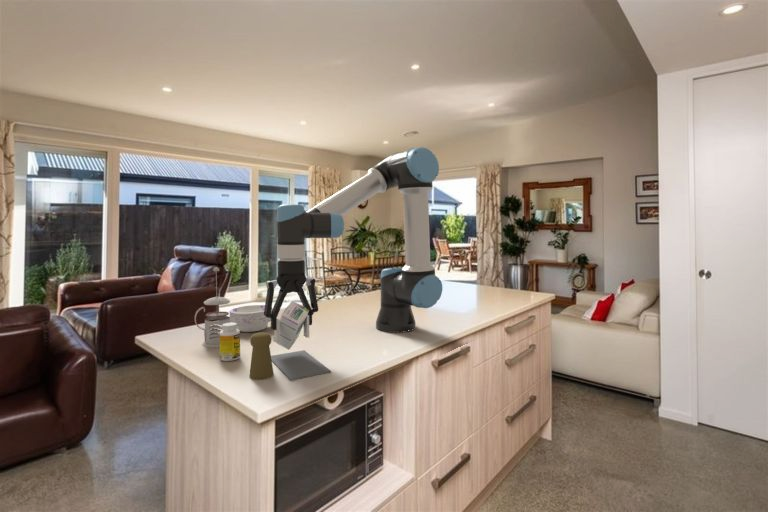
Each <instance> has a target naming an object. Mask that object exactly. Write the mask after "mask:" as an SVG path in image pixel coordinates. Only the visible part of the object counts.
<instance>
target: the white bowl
mask: <svg viewBox="0 0 768 512" xmlns="http://www.w3.org/2000/svg"><path fill="white" fill-rule="evenodd" d="M264 309H265V304H251V305H249V304H248V305H242V306H237V307H233V308H231V309H230V310H229V312H228V313H229V314H228V315H229V317H230V323H231V322H232V323H237V329H238V330H239V331H240V333H242V332H243V333H254V332H255V333H256V332H260V331H263V330H265V329H266V328H267V327H268V324H269V323H271V318H268V317H266V316H265V315H264ZM272 309H273V308H272ZM272 309H271V312H272Z"/></svg>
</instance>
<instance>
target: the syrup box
mask: <svg viewBox="0 0 768 512" xmlns="http://www.w3.org/2000/svg"><path fill="white" fill-rule="evenodd" d="M308 312H309V310H308V309H307V308H305V307H303V304H299V303H297V302H296V301H294V300H292V301H291V302H290V303H289V304H288V306H287V307H286V308H285V309H284V311H283V312H282V313H281V315H280V318H279V319H280V342H276V341H275V335H274V336H273V339H272V342H274V343H276V344H277V345H279V346H281V347H283V348H285V349H286V350H290V349H291V348H292V347H293V345H294V344H295V342H296V340H298V338H299V336H300V333H301V332H302V329H303V328H304V322H305V319H306V317H307V314H308Z"/></svg>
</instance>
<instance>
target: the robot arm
mask: <svg viewBox="0 0 768 512" xmlns="http://www.w3.org/2000/svg"><path fill="white" fill-rule="evenodd" d="M439 170H440V166H439V161H438V158H437V157H436V155H435V154H434V153H433V152H432V150H431V149H430V148H427V147H422V146H421V147H412V148H410V149H407V150H406V149H405V150H403V151H398V152H395V153H392V154H390V155H389V156H387V157H386V158H384V159H382V160H381V161H380V162H378V163H377V164H376V165H374V166H373V167H371V168H369V169H368V170H367V172H366V174H364V175H363V176H362V177H360V178H358V179H356V180H355V181H353V182H352V183H350V184H349V185H347V186H345V187H343V188H342V189H340V190H339V191H337V192H336V193H334V194H333V195H331V196H329V197H328V198H326V199H324V200H323V201H321V202H320V203H318V204H316V205H315V206H313V207H312V208H310V209H307V211H306V210H305V207H304V205H303V204H289V203H288V204H279V206H277V209H276V219H275V220H276V235H277V236H276V238H277V239H276V241H277V243H276V244H277V248H276V249H277V253H276V255H277V259H278V261H277V276H276V279H273V280H267V281H266V283H265V284H266V289H267V290H266V297H265V304H264V305H265V309H264V315H265V316H266V317H268V318H271V321H270V328H271V330H272V331H273V332H274V336H275V341H276V342H280V318H279V317H278V315H279V313H280V310H281V308H282V306H283V303H284V300H285V299H286V297H287V294H290V293H297V295H298V298H299V300H300V302H301V305H302V306H303V307H305V308H307V309H308V310H309V312H308V314H307V317H306V319H305V322H304V324H303V336H304V337H305V338H306V339H307V338H310V326H312V325H313V315H314V314H315V313H317V312H318V311H319V304H318V299H317V293H316V287H315V286H316V279H315V278H313V277H309V278H308V277H306V274H305V272H306V269H305V267H306V263H305V260H304V259H305V258H306V257H305V256H306V255H305V254H306V253H305V252H306V251H305V239H338V238H340V237H341V236H343V233H344V230H345V222H344V217H343V216H345V215H346V214H348V212H350V211H352V210H354V209H355V208H357V207H358V206H360V205H361V204H363V203H365V202H366V201H367V200H369V199H371V198H372V197H374V196H375V195H377V194H378V193H380V194H383V193H385V192H387V191H388V190H390V189H392V188H396V187H397V188H398V189H397V190H398V191H399V193H401V194H402V198H403V199H402V202H403V204H402V205H403V230H404V250H405V251H404V252H405V253H404V255H405V264H404V266H403V267H392V268H391V267H390V268H383V269H382V270H381V272H380V278H379V279H380V308H379V312H378V314H377V318H376V321H375V328H376V329H377V330H379V331H382V332H386V333H387V332H388V333H404V332H403V331H407V332H409V331H408V330H411V331H413V330H412V329H414V328H415V329H416V318H415V316H414V313H413V310H412V306H413V307H415V308H420V309H421V308H422V309H429V308H432V307H433V306H435V305H436V304H437V302H438V301H439V300H440V298H441V296H442V293H443V283H442V281H441V279H440V277H438V276H436V267H435V266H433V264H432V263H431V247H430V244H431V240H430V238H431V237H430V212H429V210H430V209H429V193H430V192H431V191H432V190H433V181H435V180H436V179H437V176H438V175H439ZM305 284H306V285H307V290H308V297H309V301H310V303H309V301H308V299H307V298H308V297H307V296H306V294H305V290H304V288H303V287H304V285H305ZM277 285H278V287H279V290H278V293H277V294H278V295H277V298H276V300H275V302H274V304H273V301H274V293H275V288H276V286H277ZM271 309H272V312H271ZM415 329H414V330H415ZM276 342H275V343H276Z"/></svg>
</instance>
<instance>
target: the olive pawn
mask: <svg viewBox="0 0 768 512" xmlns="http://www.w3.org/2000/svg"><path fill="white" fill-rule="evenodd" d="M249 343H250V345H251V347H252V349H251V350H252V351H251V359H250V368H249V369H250V370H249V378H250V379H252V380H258V381H260V380H266V379H270V378H272V377H273V376H274V375H275V373H274V368H273V362H272V360H271V356H272V354H271V347H270V345H271V343H272V335H271V333H268V332H266V331H265V332H264V331H263V332H262V331H261V332H260V331H259V332H255V333H254V334H252V335H251V336H250V341H249Z"/></svg>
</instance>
